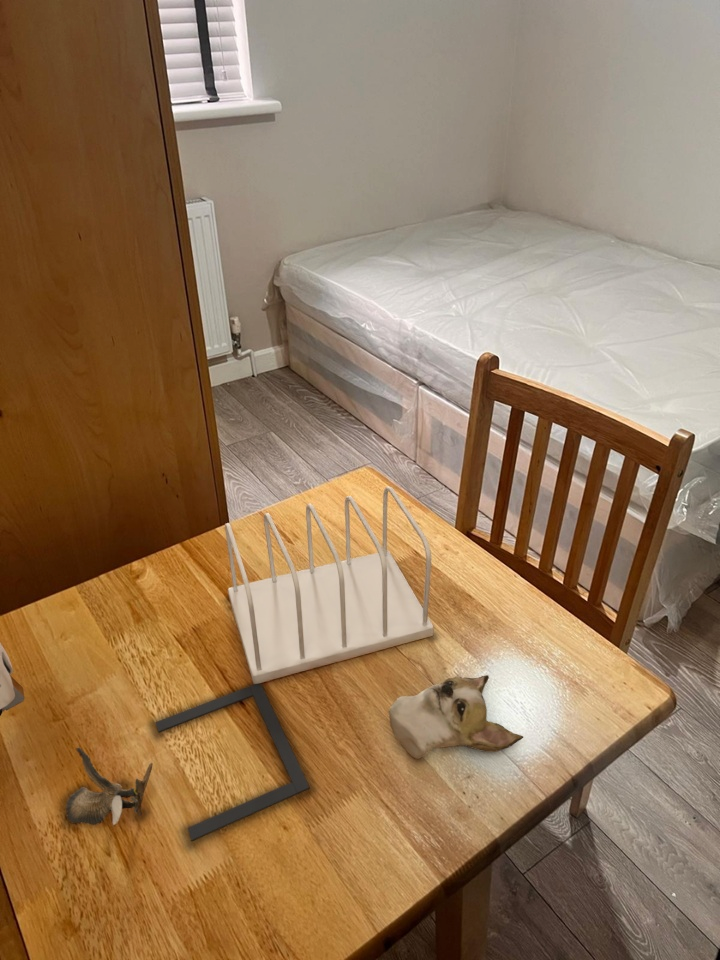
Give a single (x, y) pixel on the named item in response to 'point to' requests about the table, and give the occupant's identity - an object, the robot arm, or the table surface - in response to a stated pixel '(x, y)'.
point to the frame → (279, 740)
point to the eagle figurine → (103, 797)
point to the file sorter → (326, 603)
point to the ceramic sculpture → (448, 719)
